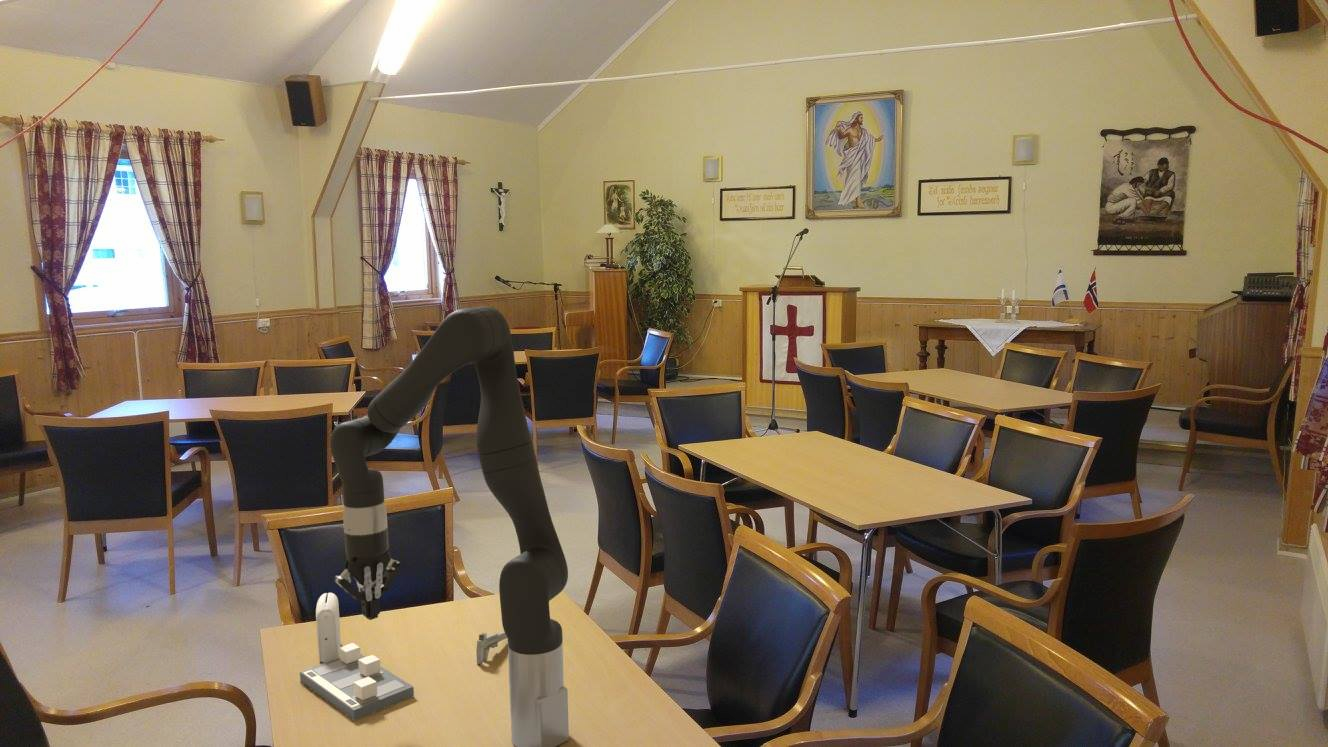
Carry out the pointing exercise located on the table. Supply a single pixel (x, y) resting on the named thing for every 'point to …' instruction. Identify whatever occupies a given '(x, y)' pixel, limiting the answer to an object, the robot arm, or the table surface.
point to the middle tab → (369, 665)
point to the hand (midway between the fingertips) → (371, 617)
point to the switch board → (339, 687)
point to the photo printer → (328, 627)
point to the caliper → (487, 644)
